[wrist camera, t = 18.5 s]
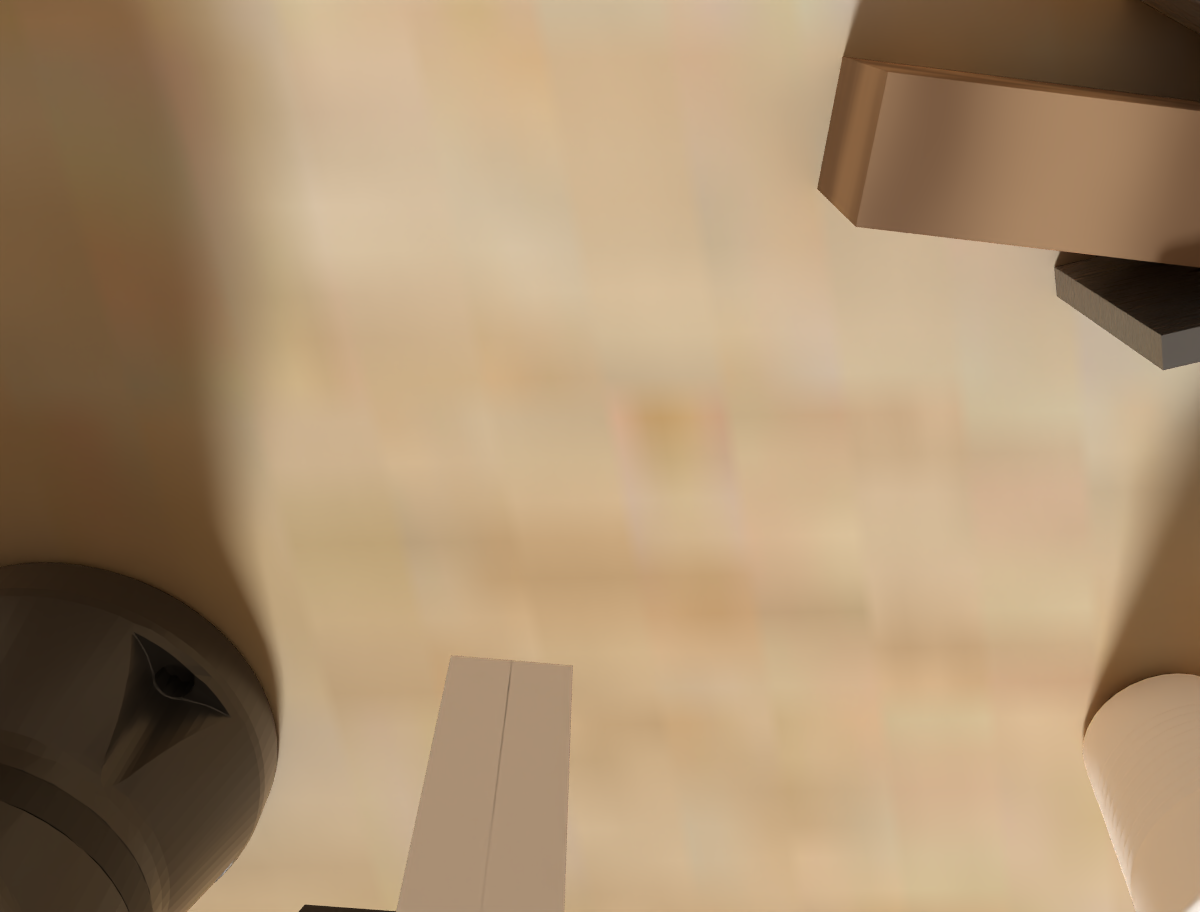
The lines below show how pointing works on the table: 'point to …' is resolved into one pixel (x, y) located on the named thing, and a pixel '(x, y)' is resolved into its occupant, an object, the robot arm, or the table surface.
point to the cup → (1151, 788)
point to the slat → (1015, 162)
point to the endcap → (1142, 280)
